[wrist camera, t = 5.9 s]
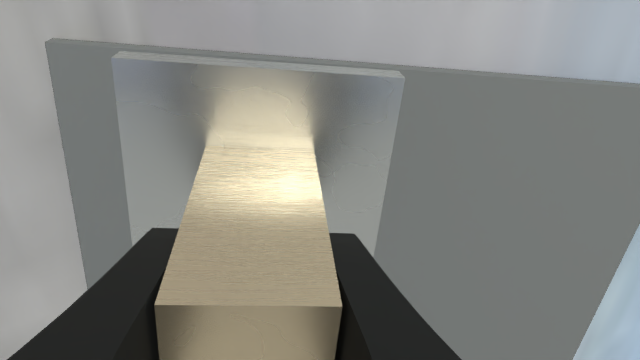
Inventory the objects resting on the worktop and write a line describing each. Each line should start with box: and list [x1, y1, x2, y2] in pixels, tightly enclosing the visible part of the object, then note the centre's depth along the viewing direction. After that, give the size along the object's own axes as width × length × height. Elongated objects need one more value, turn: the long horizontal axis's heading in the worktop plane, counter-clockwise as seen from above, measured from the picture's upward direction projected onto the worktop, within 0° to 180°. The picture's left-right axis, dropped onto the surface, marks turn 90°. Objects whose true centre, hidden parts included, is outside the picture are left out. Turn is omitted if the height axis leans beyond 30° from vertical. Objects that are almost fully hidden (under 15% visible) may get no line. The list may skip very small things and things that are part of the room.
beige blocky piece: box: [111, 51, 405, 360], centre depth 9 cm, size 6×6×6 cm
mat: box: [45, 38, 640, 360], centre depth 19 cm, size 20×20×1 cm
